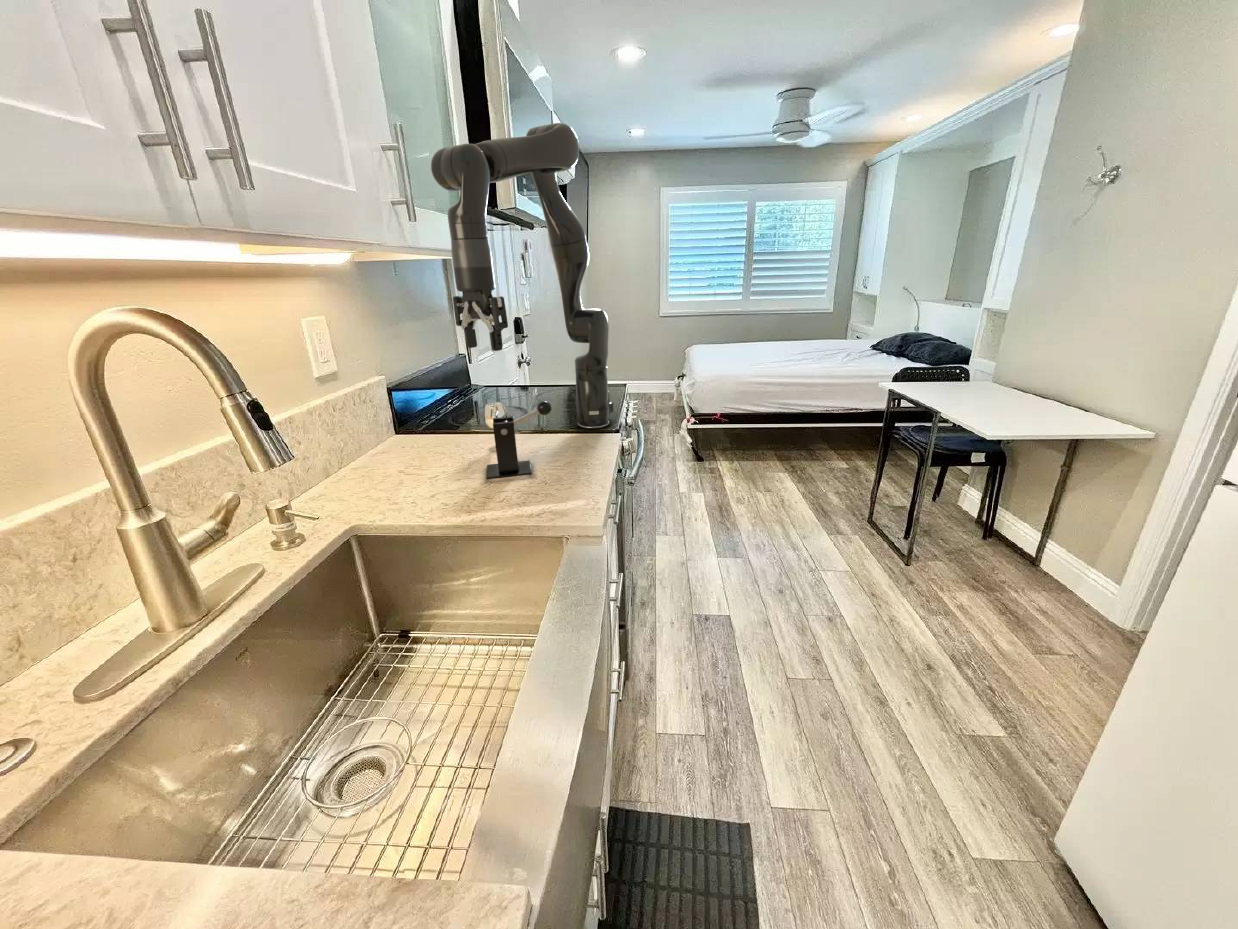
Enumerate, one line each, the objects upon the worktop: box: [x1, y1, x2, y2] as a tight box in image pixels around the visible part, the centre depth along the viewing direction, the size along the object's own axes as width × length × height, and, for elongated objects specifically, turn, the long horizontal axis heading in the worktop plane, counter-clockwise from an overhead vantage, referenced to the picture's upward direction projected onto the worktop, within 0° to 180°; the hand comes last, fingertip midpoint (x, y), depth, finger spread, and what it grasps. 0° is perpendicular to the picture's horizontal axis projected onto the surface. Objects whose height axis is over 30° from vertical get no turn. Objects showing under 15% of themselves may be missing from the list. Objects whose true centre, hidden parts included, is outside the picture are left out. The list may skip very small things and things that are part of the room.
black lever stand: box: [485, 416, 533, 480], centre depth 111 cm, size 10×8×13 cm
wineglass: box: [483, 401, 508, 430], centre depth 127 cm, size 6×6×12 cm
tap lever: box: [503, 400, 552, 427], centre depth 110 cm, size 13×3×3 cm, turn 102°
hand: (484, 348), depth 102 cm, fingers open, 8 cm apart
